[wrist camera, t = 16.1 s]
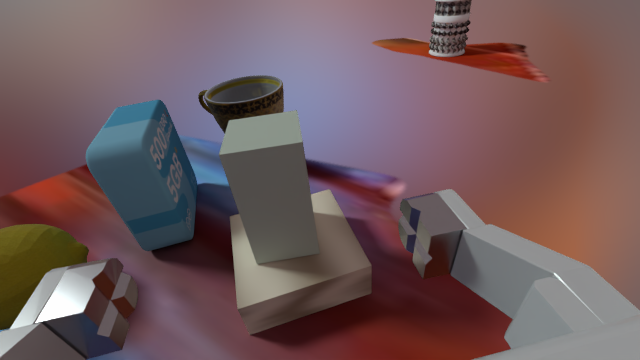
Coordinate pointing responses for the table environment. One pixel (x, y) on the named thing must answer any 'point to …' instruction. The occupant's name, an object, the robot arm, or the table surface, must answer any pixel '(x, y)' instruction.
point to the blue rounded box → (146, 174)
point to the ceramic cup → (243, 98)
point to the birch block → (300, 272)
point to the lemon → (31, 263)
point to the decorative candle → (450, 28)
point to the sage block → (271, 185)
